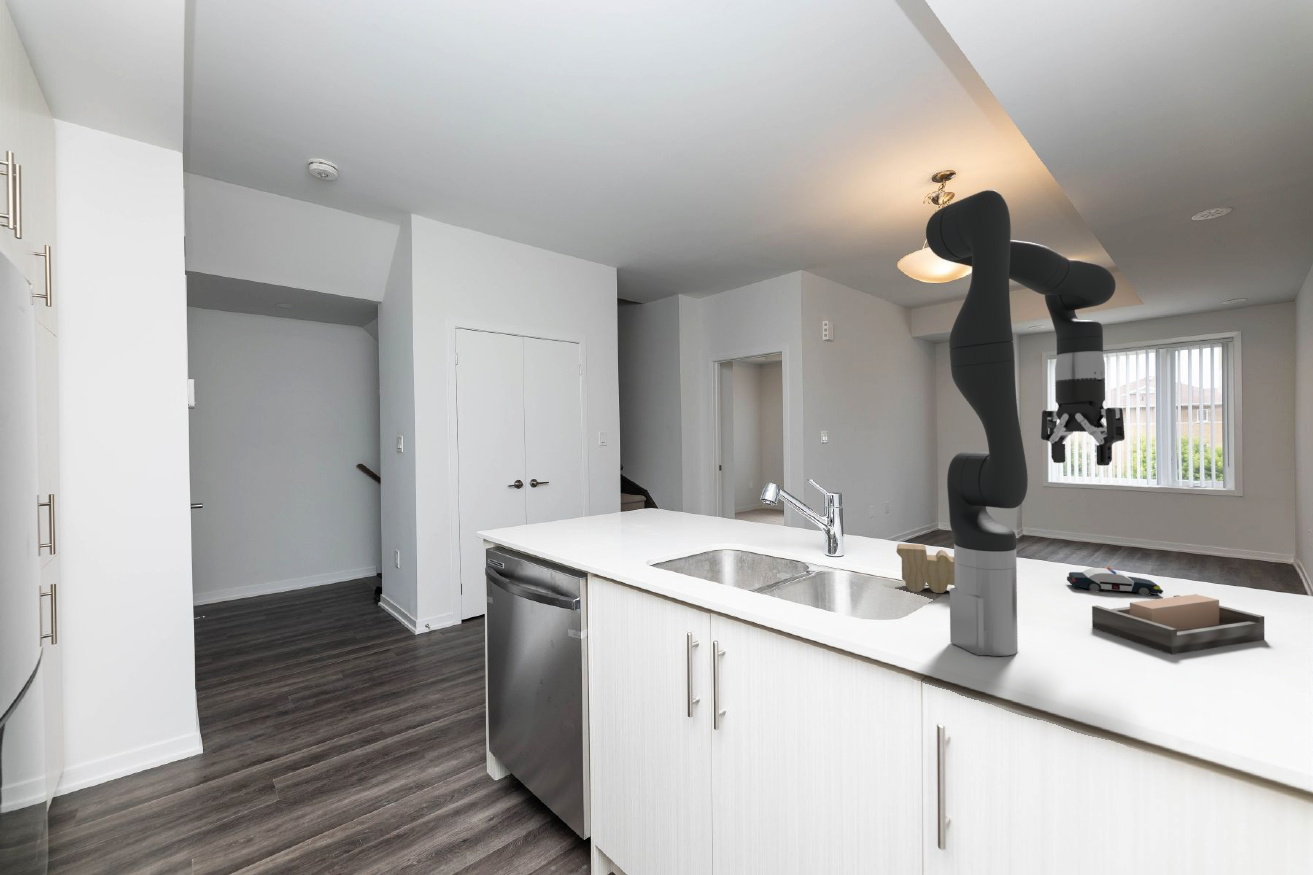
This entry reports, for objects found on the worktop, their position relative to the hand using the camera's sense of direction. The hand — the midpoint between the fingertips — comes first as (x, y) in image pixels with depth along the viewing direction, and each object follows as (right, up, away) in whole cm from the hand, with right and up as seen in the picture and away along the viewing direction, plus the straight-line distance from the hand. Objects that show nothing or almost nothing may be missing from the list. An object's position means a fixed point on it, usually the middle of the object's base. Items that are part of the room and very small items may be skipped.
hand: (1080, 464), depth 107 cm
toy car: (+23, -30, +21) cm, 43 cm away
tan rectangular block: (+13, -29, -6) cm, 32 cm away
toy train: (-15, -30, +23) cm, 41 cm away
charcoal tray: (+13, -30, -6) cm, 33 cm away
